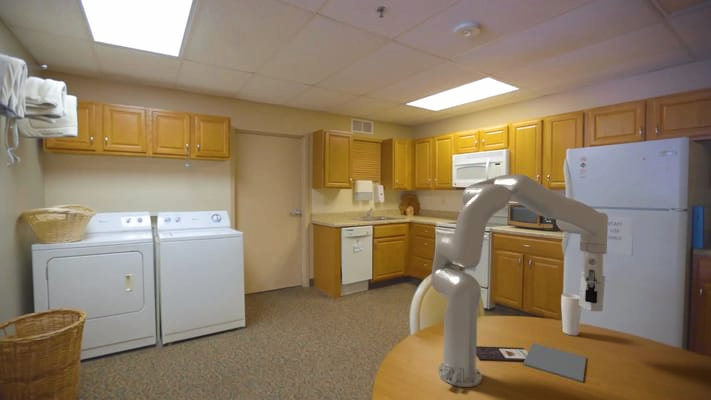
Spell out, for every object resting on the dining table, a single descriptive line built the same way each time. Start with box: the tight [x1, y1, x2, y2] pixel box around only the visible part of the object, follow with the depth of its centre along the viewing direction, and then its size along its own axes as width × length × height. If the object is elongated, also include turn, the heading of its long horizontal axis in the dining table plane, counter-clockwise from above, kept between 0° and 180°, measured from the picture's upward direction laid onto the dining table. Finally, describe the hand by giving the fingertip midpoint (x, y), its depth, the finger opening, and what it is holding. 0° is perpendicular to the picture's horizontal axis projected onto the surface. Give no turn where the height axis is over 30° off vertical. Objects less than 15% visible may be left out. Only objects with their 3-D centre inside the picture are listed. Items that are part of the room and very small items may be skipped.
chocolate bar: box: [476, 345, 529, 363], centre depth 113 cm, size 9×1×18 cm
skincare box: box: [578, 271, 606, 312], centre depth 113 cm, size 6×4×12 cm
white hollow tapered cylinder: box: [560, 293, 582, 337], centre depth 130 cm, size 7×7×15 cm
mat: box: [522, 342, 587, 383], centre depth 108 cm, size 18×16×1 cm
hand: (591, 298), depth 113 cm, fingers closed on skincare box, 7 cm apart
